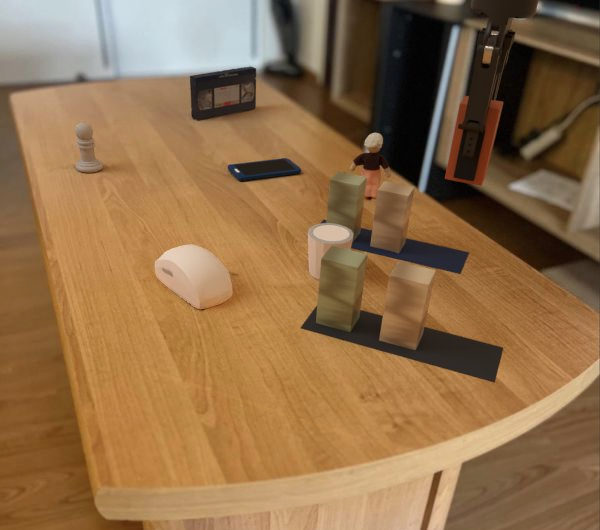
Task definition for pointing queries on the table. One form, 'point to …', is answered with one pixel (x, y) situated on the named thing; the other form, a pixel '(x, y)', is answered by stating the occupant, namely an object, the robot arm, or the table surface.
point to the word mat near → (421, 346)
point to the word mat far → (416, 253)
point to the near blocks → (398, 305)
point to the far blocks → (388, 209)
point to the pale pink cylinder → (326, 243)
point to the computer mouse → (194, 275)
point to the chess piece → (86, 149)
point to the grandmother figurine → (372, 165)
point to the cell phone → (263, 169)
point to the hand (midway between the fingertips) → (466, 172)
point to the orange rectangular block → (486, 146)
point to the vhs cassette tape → (223, 92)
